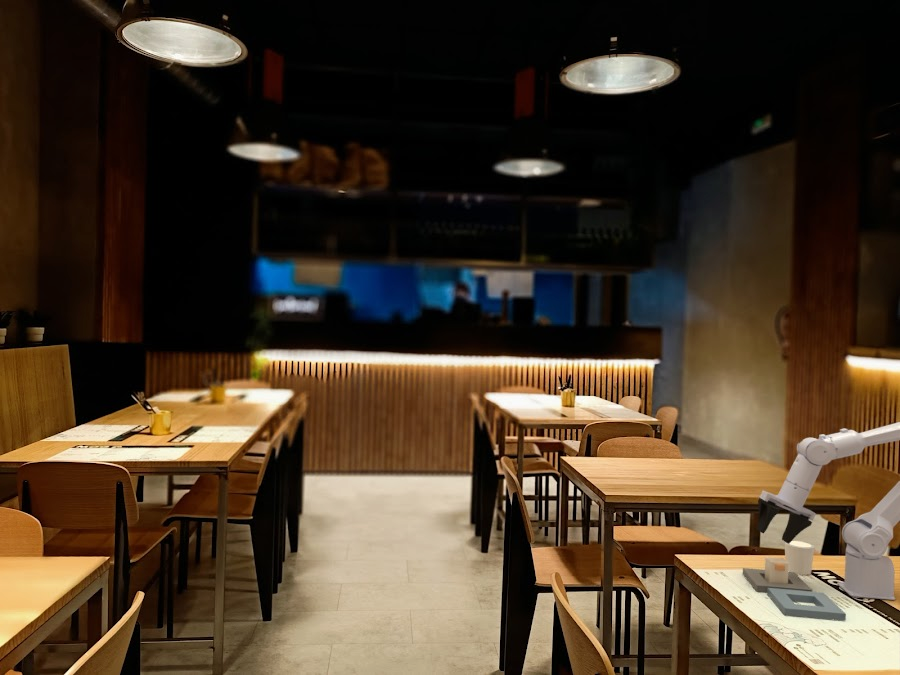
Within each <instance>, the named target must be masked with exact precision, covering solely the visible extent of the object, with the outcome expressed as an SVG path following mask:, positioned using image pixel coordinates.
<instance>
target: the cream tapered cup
mask: <svg viewBox="0 0 900 675" xmlns="http://www.w3.org/2000/svg"><path fill="white" fill-rule="evenodd" d="M815 548H816V547H815V545H814V544H812V543H809V542H807V541H802V540H794V539H793V540H792V541H791V542H790V543H789V544H788V543H786V542H785V541H784V557H785V558H784V560H785V561H787V562H788V563H789V566H788V571H789V572H794V573H796V574H797V575H798V574H802V575H801V576H808V575H807V574H810V575H811V574H812V569H813V562H814V555H815Z"/></svg>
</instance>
